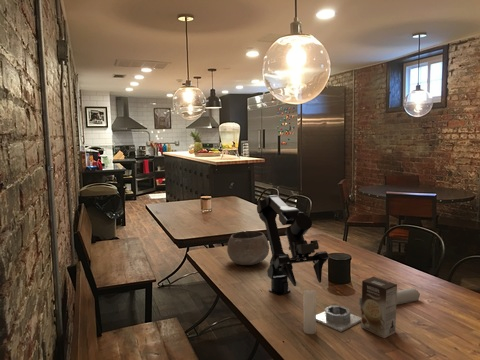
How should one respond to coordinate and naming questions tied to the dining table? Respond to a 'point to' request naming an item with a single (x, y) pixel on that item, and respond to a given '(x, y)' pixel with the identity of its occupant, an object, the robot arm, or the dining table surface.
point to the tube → (403, 296)
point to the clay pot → (248, 247)
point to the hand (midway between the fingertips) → (307, 284)
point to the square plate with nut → (338, 318)
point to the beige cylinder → (309, 311)
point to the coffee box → (379, 306)
